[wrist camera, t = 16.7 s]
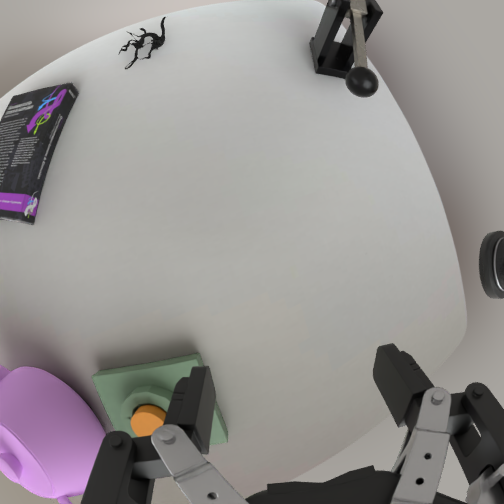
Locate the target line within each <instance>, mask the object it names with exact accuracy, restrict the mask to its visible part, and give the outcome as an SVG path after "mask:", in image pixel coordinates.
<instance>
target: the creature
mask: <svg viewBox="0 0 504 504" xmlns="http://www.w3.org/2000/svg"><path fill="white" fill-rule="evenodd" d="M165 18H166V17H164V18H163V19H162V21H161V29H162V35H161V37H159V36H158V35H157V34H155V33H146V31H145V29H143V28H140V30H143V31H144V33H145V34H143V35H141V36H137V35H136V36H137V37H141V39H140V41H137V40H136V39H135V40H136V41H135V40H133V41H135V42H136V43H132V44H131V43H130V41H132V40H130V41H128V44H127V45H125V46H122V47H126V49H122V48H121V50H120V51H127V47H129V45H130V44H131V45H134V46H135V48H136V51H135V58H134V60H133V61H132V64H131V65H130V66H129V67H131V66H132V65H133V63H134V62H135V61H136V60H137V59H139V58H138V57H137V54H138V49H140V48H143V44H144V38H145V37H147V36H151V37H152V38H153V40H151V41H153V43H151V44H152V47H151V50H150V52H149V54H148V55H149V56H148V57H145V58H148V59H149V58H150V57H151V55H150V53H151V51H152V50H153V49H155V48H156V49H158V47H160V46H162V45H163V43H164V41H165V28H164V19H165ZM126 32H127V31H126ZM128 33H129V32H128ZM130 34H131V35H132V33H130ZM134 35H135V34H134ZM132 36H133V35H132ZM148 44H149V43H148ZM146 45H147V44H146ZM144 46H145V45H144ZM119 54H120V52H119ZM143 59H144V58H143ZM129 64H130V63H129ZM129 64H128V65H129ZM129 67H128V68H129ZM128 68H126V67H125V69H128Z"/></svg>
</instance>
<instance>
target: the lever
mask: <svg viewBox="0 0 504 504" xmlns="http://www.w3.org/2000/svg"><path fill="white" fill-rule="evenodd" d="M350 1H351V3H350V6H349V8H348V10H347V12H346V14H345V17H346V18H349V19H350V22H351V31H352V40H353V50H354V62H355V67H354V68H352V69H350V70H349V71H348V73H347V75H346V79H345V81H346V85H347V88H348V89H349V90H350V92H351V93H353V94H354V95H356V96H358V97H370V96H372V95H373V94H374V93H375V92H376V91H377V89H378V79H377V77H376V75H375V74H374V72H373V71H371V70H370V69H368V68H367V57H366V49H365V39H364V31H363V24H362V19H363V18H364V17H365V16H366V15H367V14H368V12H367V7H366V2H365V0H350Z"/></svg>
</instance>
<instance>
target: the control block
mask: <svg viewBox="0 0 504 504" xmlns="http://www.w3.org/2000/svg"><path fill="white" fill-rule="evenodd" d="M193 366H204V365H203V362H202V359H201V356H200V353H196V354H192V355H187V356H182V357H177V358H172V359H167V360H162V361H157V362H151V363H146V364H140V365H134V366H128V367H121V368H114V369H107V370H100V371H98V372H97V373H95V374H94V375H93V376H92V379H93V382H94V384H95V387H96V389H97V392H98V394H99V397H100V399H101V401H102V403H103V406H104V408H105V410H106V412H107V414H108V416H109V419H110V421H111V423H112V425H113V427H114V429H115V431H124V432H126V433H128V434H129V435H130V436H131V438H133V437H138V436H137V435H136V434H135V433H134V431H133V430H132V427H131V418H132V416H133V415H134V414H135V412H136V411H137V409H138V408H139V407H141V406H143V405H155V406H158V407H160V408H161V409H163V410H164V411H165V412H166V413H167V410H168V407H169V404H170V401H171V397H172V394H173V391H174V388H175V385H176V383H177V382H178V381H179V380H180V379H181V378H182V377H189V376H190V373H191V369H192V367H193ZM225 442H228V431H227V428H226V426H225V423H224V421H223V418H222V415H221V413H220V410H219V408H218V405H217V402H216V400H215V408H214V415H213V422H212V429H211V437H210V445H214V444H220V443H225Z"/></svg>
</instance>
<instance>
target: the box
mask: <svg viewBox="0 0 504 504" xmlns="http://www.w3.org/2000/svg"><path fill="white" fill-rule="evenodd" d="M78 94H79V93H78V91H77V89H76V88H75V86H74V85H73V83H72V82H70V83H66V84H62V85H57V86H52V87H47V88H43V89H39V90H35V91H31V92H27V93H24V94H20V95H15V96H13V97H12V99H11V101H10V103H9V105H8V107H7V109H6V111H5V113H4V115H3V117H2V119H1V121H0V219H3V220H9V221H16V222H21V223H27V224H31V225H33V224H34V219H35V215H36V211H37V206H38V202H39V197H40V193H41V190H42V186H43V182H44V179H45V176H46V173H47V169H48V166H49V163H50V160H51V157H52V154H53V152H54V149H55V146H56V143H57V141H58V138H59V136H60V133H61V131H62V128H63V126H64V123H65V121H66V119H67V117H68V114H69V112H70V110H71V108H72V106H73V104H74V101H75V99H76V97H77V95H78Z"/></svg>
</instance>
